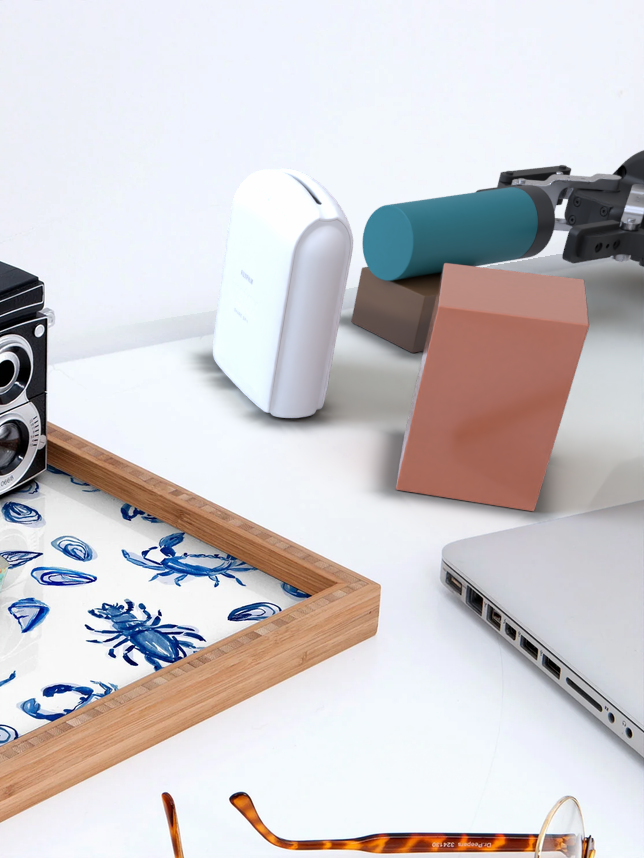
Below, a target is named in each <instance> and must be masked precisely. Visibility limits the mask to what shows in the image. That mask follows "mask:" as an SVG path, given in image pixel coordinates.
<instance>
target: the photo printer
mask: <svg viewBox="0 0 644 858" xmlns="http://www.w3.org/2000/svg"><path fill="white" fill-rule="evenodd" d="M228 220H229V221H228V227H227V234H226V240H225V241H226V242H225V249H224V254H223V255H224V257H223V264H222V271H221V279H220V285H219V293H218V301H217V309H216V316H215V323H214V331H213V340H212V357H213V360H214V362H215V363H216V364H217V366H218V367H219V369H220V370H221V372H223V373H224V374H225V375H226V376H227V378H229V380H230V381H231V382H232V383H233V384H234V385H235V386H236V387H237V388H238V389H239V390H240V392H242V393H243V395H245V396H246V397H247V398H248V399H249V400H250V401H251V402H252V404H254V405H256V407H257V408H259V409H260V410H261V411H263V412H264V413H267V414H271V416H273V417H276V418H281V419H282V418H285V419H299V418H306V417H309V416H312V415H314V414H315V413H316V412H317V410H321V409H322V408H323V407H324V403H325V401H326V396H327V392H328V386H329V382H330V376H331V369H332V365H333V364H332V363H333V358H334V354H335V347H336V342H337V338H338V337H337V336H338V332H339V331H338V330H339V326H340V321H341V314H342V310H343V304H344V299H345V293H346V289H347V288H346V287H347V284H348V283H347V282H348V278H349V271H350V266H351V261H352V257H353V250H354V236H353V231H352V228H351V225H350V222H349V220H348V217H347V216H346V213H345V212H344V210H343V208H342V206H341V205H340V204H339V202H338V201H337V200H336V199H335V197H334V196H333V195H332V194H331V192H330V191H329V190H328V189H327V188H326V187H325V186H324V185H322V183H320V182H319V181H317V180H316V179H315V178H313V177H312V176H311V175H309V174H307V173H305V172H303V171H300V170H297V169H294V168H285V167H284V168H277V169H272V168H265V169H260V170H258V171H257V170H256V171H255V172H252V173H250V174H249V175H248V176H247V177H246V178H245V179H244V180H243V181H242V182H241V183H240V185H239V186H238V187H237V189H236V191H235V193H234V196H233V198H232V201H231V206H230V214H229V219H228Z"/></svg>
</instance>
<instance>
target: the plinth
mask: <svg viewBox="0 0 644 858" xmlns="http://www.w3.org/2000/svg"><path fill="white" fill-rule="evenodd" d="M586 293H587V292H586V285H585V279H582V278H575V277H565V276H558V275H551V274H550V275H548V274H540V273H531V272H524V271H517V270H516V271H515V270H506V269H498V268H490V267H483V266H466V265H458V264H450V263H444V265H443V270H442V274H441V278H440V283H439V287H438V291H437V296H436V300H435V304H434V309H433V313H432V317H431V322H430V326H429V330H428V335H427V339H426V343H425V348H424V351H422V352H423V353H422V357H421V361H420V365H419V369H418V374H417V379H416V382H415V387H414V391H413V395H412V400H411V404H410V409H409V413H408V417H407V422H406V425H405V430H404V435H403V439H402V447H401V454H400V459H399V465H398V473H397V477H396V484H395V489H396V490H397V491H402V492H409V493H413V494H421V495H429V496H434V497H440V498H448V499H453V500H459V501H466V502H470V503H471V502H472V503H477V504H485V505H489V506H490V505H491V506H497V507H503V508H511V509H516V510H522V511H523V510H524V511H527V512H528V511H529V512H534V511H535V510H536V506H537V503H538V500H539V497H540V493H541V490H542V487H543V484H544V480H545V477H546V473H547V470H548V467H549V463H550V460H551V457H552V456H551V455H552V453H553V449H554V447H555V442H556V440H557V436H558V434H559V429H560V427H561V423H562V419H563V416H564V412H565V409H566V406H567V403H568V399H569V396H570V392H571V389H572V385H573V383H574V378H575V376H576V375H575V374H576V372H577V369H578V365H579V363H580V360H581V359H580V358H581V355H582V353H583V348H584V345H585V342H586V339H587V335H588V331H589V328H590V321H589V312H588V311H589V310H588V302H587V295H586Z"/></svg>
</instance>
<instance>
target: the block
mask: <svg viewBox="0 0 644 858" xmlns="http://www.w3.org/2000/svg"><path fill="white" fill-rule="evenodd" d="M441 274H442V272H439V273H433V274H427V275H422V276H416V277H410V278H404V279H398V280H392V281H385V280H382V279H379V278H377V277H376V276H375V275H374V274H373V273H372V272H371V271H370V269H369V268H368V266H364V267H361V270H360V275H359V281H358V285H357V290H356V295H355V300H354V305H353V310H352V315H351V321H350V323H352V324H353V325H356V326H358V327H360V328H362V329H364V330H366V331H367V332H370V333H372V334H374V335H376V336H378V337H380V338H381V339H383V340H386V341H388V342H390V343H392V344H393V345H396V346H398V347H399V348H402V349H404V350H406V351H408V352H410V353H411V354H414V353H420V352H424V348H425V343H426V339H427V335H428V330H429V326H430V322H431V317H432V313H433V309H434V304H435V300H436V296H437V291H438V287H439V283H440V278H441Z"/></svg>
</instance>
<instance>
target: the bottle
mask: <svg viewBox="0 0 644 858" xmlns="http://www.w3.org/2000/svg"><path fill="white" fill-rule="evenodd" d="M555 212H556V210H555V211H554V207H553V204H552V201H551V199H550V197H549V196H548V194H547V193H546V192H545V191H544V190H543V189H541V188H540V187H537V186H535V185H523V186H516V187H509V188H502V189H495V190H488V191H481V192H476V191H474V192H467V193H462V194H461V193H460V194H454V195H447V196H439V197H433V198H427V199H420V200H419V199H418V200H412V201H405V202H398V203H392V204H390V203H389V204H384V205H382V206H380V207H378V208H376V209H375V210H374V211H373V212H372V213H371V214H370V215H369V217H368V218H367V221H366V224H365V226H364V228H363V229H364V230H363V233H362V253H363V257H364V258H363V259H364V261H365V263H366V267H368V268H369V269H370V271H371V272H372V273H373V274H374V275H375V276H376V277H377V278H379V279H382V280H385V281H392V280H398V279H404V278H410V277H416V276H422V275H427V274H433V273H439V272H442V270H443V265H444V263H450V264H458V265H466V266H475V267H482V266H486V265H492V264H499V263H504V262H511V261H516V260H522V259H528V258H533V257H535V256H537V255H539V254H540V253H541V252H542V251H544V249H545V248H546V247H547V246H548V244H549V242H550V241H551V239H552V237H553V233H554V231H555V230H554V226H555V218H556V213H555Z"/></svg>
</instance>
